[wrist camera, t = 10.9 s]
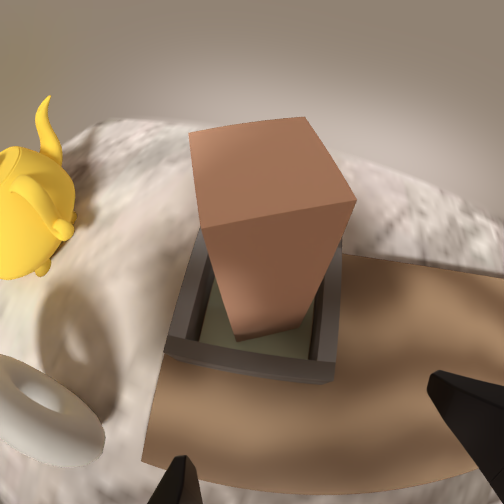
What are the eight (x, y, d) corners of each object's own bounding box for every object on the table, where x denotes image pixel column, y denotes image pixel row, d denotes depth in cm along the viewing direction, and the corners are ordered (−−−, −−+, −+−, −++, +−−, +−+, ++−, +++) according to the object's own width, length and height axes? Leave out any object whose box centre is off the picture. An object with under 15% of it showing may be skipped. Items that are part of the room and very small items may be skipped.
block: (298, 327, 17) (357, 200, 7) (236, 342, 17) (201, 228, 6) (282, 272, 19) (304, 116, 9) (224, 284, 19) (188, 133, 8)
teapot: (49, 355, 17) (-55, 300, 8) (-21, 300, 20) (-86, 249, 10) (138, 173, 27) (104, 80, 17) (54, 168, 29) (18, 102, 19)
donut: (32, 395, 15) (-58, 367, 7) (44, 363, 17) (-45, 322, 8) (121, 466, 13) (28, 491, 5) (137, 430, 15) (42, 437, 6)
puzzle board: (557, 426, 10) (583, 419, 6) (149, 458, 14) (120, 469, 10) (552, 293, 18) (573, 277, 14) (202, 244, 23) (191, 208, 19)
